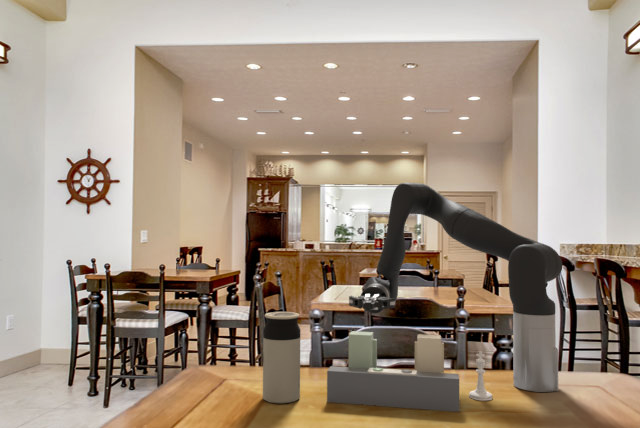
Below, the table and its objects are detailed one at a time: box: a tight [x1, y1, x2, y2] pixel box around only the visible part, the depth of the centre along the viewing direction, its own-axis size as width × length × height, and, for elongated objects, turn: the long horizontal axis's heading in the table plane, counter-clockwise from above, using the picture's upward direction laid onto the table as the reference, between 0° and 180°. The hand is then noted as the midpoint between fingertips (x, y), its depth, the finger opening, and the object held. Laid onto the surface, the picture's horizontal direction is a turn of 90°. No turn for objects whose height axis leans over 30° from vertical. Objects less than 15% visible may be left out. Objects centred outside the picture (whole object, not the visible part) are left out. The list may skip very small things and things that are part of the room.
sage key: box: [347, 330, 378, 368], centre depth 120 cm, size 6×5×11 cm
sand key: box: [414, 333, 445, 373], centre depth 117 cm, size 6×5×11 cm
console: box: [326, 365, 460, 413], centre depth 115 cm, size 27×12×7 cm, turn 78°
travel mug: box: [262, 311, 301, 405], centre depth 114 cm, size 8×8×18 cm
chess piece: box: [468, 350, 493, 402], centre depth 116 cm, size 5×5×10 cm
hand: (367, 306), depth 133 cm, fingers closed
